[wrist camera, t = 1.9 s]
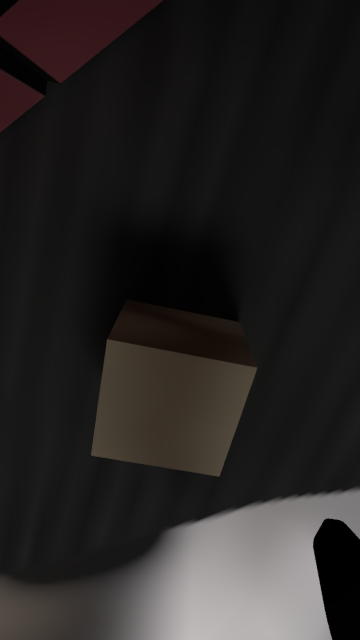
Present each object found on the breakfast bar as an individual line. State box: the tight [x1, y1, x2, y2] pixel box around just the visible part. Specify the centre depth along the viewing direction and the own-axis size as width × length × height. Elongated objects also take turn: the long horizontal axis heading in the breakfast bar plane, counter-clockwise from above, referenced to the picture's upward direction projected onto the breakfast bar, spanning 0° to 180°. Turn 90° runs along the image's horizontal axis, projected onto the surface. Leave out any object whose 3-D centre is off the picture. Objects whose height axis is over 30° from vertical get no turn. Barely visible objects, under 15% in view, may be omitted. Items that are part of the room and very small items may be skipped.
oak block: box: [91, 300, 257, 476], centre depth 14 cm, size 5×5×4 cm
